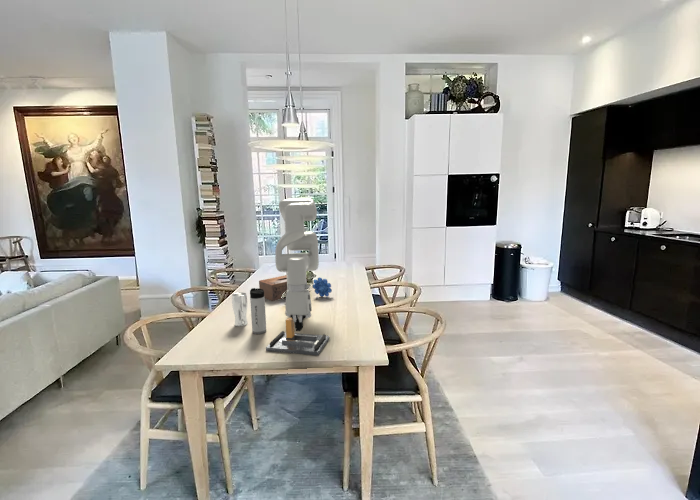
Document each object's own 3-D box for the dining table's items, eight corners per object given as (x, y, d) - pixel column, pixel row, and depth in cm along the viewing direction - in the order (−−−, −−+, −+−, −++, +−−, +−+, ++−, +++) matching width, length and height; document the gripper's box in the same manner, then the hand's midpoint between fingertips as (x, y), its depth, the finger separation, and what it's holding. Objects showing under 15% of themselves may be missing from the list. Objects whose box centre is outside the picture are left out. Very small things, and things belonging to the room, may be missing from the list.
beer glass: (233, 322, 179) (231, 293, 176) (247, 320, 181) (246, 291, 179) (234, 327, 172) (231, 297, 170) (249, 325, 175) (247, 295, 172)
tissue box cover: (272, 301, 212) (271, 285, 210) (259, 296, 222) (258, 280, 220) (308, 292, 229) (307, 277, 227) (295, 288, 239) (294, 273, 238)
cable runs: (282, 333, 161) (282, 330, 161) (326, 336, 156) (326, 333, 156) (269, 346, 148) (268, 342, 148) (316, 350, 144) (316, 347, 143)
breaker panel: (281, 335, 163) (281, 328, 162) (329, 339, 158) (329, 332, 157) (266, 350, 147) (265, 343, 147) (318, 355, 142) (317, 348, 142)
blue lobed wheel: (311, 298, 215) (310, 279, 213) (313, 295, 222) (312, 276, 220) (331, 298, 215) (330, 279, 212) (332, 295, 221) (331, 276, 219)
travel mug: (260, 327, 172) (257, 286, 168) (269, 331, 167) (266, 289, 164) (249, 331, 167) (246, 289, 163) (257, 335, 163) (255, 292, 159)
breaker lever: (288, 338, 155) (288, 317, 153) (295, 338, 154) (294, 317, 153) (285, 341, 152) (284, 320, 150) (292, 342, 151) (291, 320, 149)
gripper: (317, 285, 150) (319, 327, 153) (283, 284, 153) (285, 325, 157) (312, 290, 143) (313, 335, 146) (276, 289, 146) (278, 332, 149)
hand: (299, 329), depth 151 cm, fingers closed
